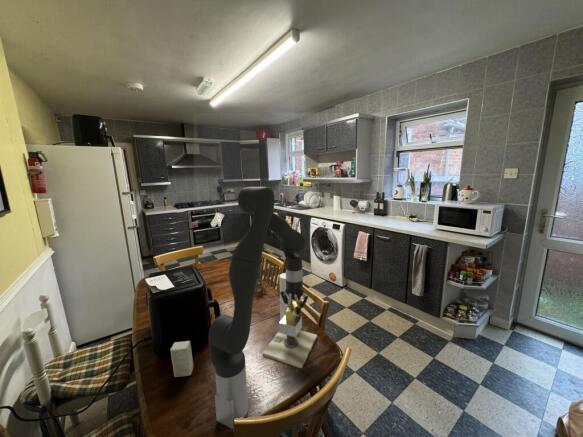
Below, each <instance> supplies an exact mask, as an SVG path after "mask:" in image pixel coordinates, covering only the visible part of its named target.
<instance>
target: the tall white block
mask: <svg viewBox="0 0 583 437" xmlns="http://www.w3.org/2000/svg"><path fill="white" fill-rule="evenodd" d="M278 278H279V313H280V317H279V318H280V319H279V320H280V321H281V320H282V319H283V317H284V316H285V315H286V310H287V309H288V304H285V303H284V301H283V299H282V296H281V294H280V292H281V291H282V290H286V272H283V273H281V274H279V277H278ZM286 295H287V293H286ZM287 298H289V296H288V295H287ZM293 301H295V300H294V299H293ZM293 301H292V303H293Z"/></svg>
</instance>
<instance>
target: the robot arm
mask: <svg viewBox="0 0 583 437" xmlns="http://www.w3.org/2000/svg"><path fill="white" fill-rule="evenodd" d="M275 197H276V196H275V193H274V191H273V188H272V187H271V188H270V187H268V186H248V187H244V188H242V189H240V190H239V193H238V195H237V204H238V206H239V209H240V210H241V211H242V212H243V213H245V214H246V215H248V216H250V217H252V219H251V224H250V226H249V228H248V231H247V232H246V233H245V234H244V236H243V237H242V238H241V239H240V241H239V242H238V244H236V246H235V248H234V250H233V251H232V255H231V258H230V264H229V269H228V280H229V283H230V287H231V291H232V295H233V302H234V303H233V305H234V307H233V316H232V315H228V314H221V315H219V316H217V317H216V318H215V319H214V320H213V321H212V323H211V324H210V325H211V326H210V328H209V331H208V332H209V333H208V345H209V352H210V353H209V354H210V359H211V363H212V365H213V367H214V373H215V384H216V386H215V387H216V393H215V395H214V403H215V404H214V406H215V413H216V415H215V417H216V421H217V422H218V423H220V424H222V425H224V426H226V427H228V428H230V429H234V427H233V420H234V419H235V418H240V417H245V418H246V417H247V414H248V410H249V404H248V387H247V385H248V384H247V367H246V355H245V354H244V351H243V350H244V349H245V348H246V346H247V343H248V342H249V336H250V332H251V326H252V325H251V323H252V317H253V316H252V313H253V305H254V298H255V297H254V293H255V287H256V282H257V278H258V273H259V269H260V268H261V262H262V257H263V250H264V246H265V241H266V236H267V232H268V230H269V231H270V232H271V233H272V234H273V235H274V236H276V238H277V239H278V240H279V241H280V242H281V246H282V251H283V254H284V257H285V265H286V268H285V270H286V271H285V273H286V290H282V291H281V292H280V291H279V295H280V294H281V296H282V299H283V301H284V303H285V304H288V308H289V306H290V305H291V304H292V301H293V299H294V301H296V303H297V316H299V315H300V314H301V312H302V308H304V307H305V305H306V304H307V301H308V300H309V297H310V294H309V293H307V294H306V293H305V292H304V289H303V288H304V287H303V286H304V281H303V280H304V276H303V275H304V274H303V257H302V256H301V255H300V254H298V253H296V252H302V251H303V250H305V248H306V246H307V241H306V238H305V236H304V235H303V234H302V233H301V232H299V231H298V230H296V229H295V228H293V226H291V225H290V223H289V222H288V221H287V220H285V219H284V217H281V215H278V214H276V213H275V212H273V211H274V208H275V201H276V199H275ZM286 293H287V295H288V296H289V298H287V295H286ZM302 298H303V301H302Z"/></svg>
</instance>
